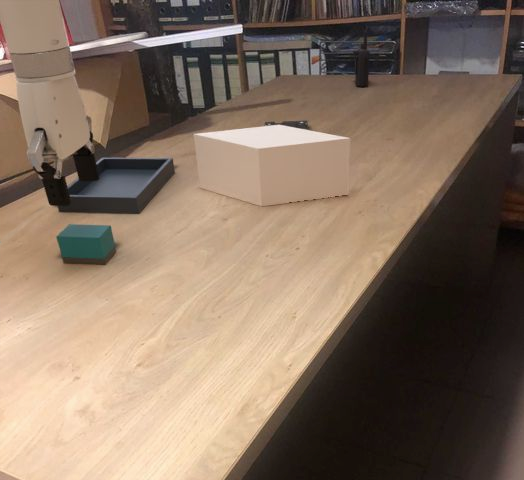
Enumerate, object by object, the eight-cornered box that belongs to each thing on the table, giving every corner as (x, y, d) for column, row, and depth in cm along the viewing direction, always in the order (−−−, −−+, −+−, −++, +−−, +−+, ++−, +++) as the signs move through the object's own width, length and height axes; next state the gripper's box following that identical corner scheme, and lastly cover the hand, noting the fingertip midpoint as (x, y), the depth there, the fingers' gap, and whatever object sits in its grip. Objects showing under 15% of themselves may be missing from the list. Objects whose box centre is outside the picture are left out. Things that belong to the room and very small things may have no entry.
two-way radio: (369, 87, 176) (372, 30, 167) (354, 88, 176) (356, 31, 167) (364, 83, 181) (366, 27, 172) (350, 84, 180) (351, 29, 172)
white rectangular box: (342, 210, 103) (343, 151, 97) (186, 202, 110) (178, 146, 104) (354, 181, 114) (356, 126, 108) (212, 175, 121) (206, 123, 115)
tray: (139, 213, 107) (136, 197, 105) (59, 211, 110) (54, 196, 108) (174, 172, 124) (172, 157, 122) (104, 171, 127) (101, 157, 125)
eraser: (63, 263, 92) (55, 236, 90) (75, 250, 96) (69, 224, 93) (105, 264, 91) (99, 237, 88) (116, 251, 95) (110, 225, 92)
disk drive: (264, 134, 143) (262, 152, 131) (264, 121, 142) (261, 139, 130) (307, 132, 143) (309, 150, 131) (307, 119, 141) (309, 137, 129)
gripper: (48, 53, 85) (77, 172, 95) (-20, 80, 71) (22, 215, 81) (97, 51, 83) (121, 172, 93) (37, 78, 70) (73, 216, 79)
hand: (75, 192), depth 87 cm, fingers open, 9 cm apart
